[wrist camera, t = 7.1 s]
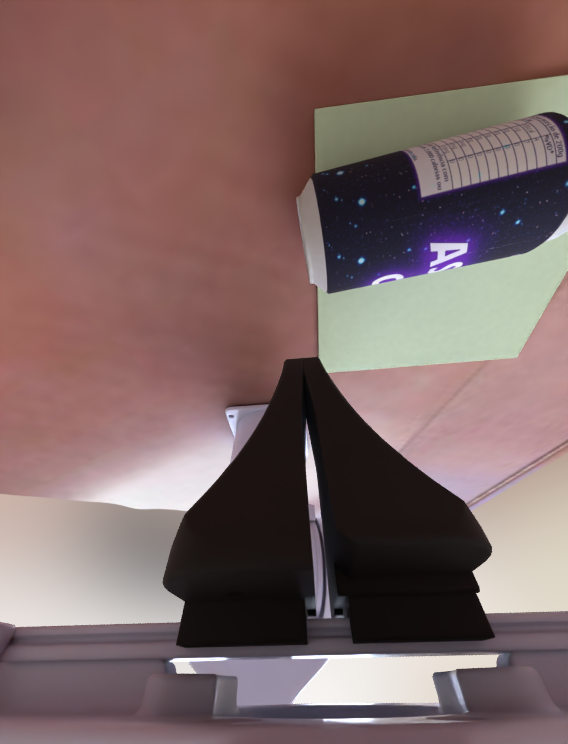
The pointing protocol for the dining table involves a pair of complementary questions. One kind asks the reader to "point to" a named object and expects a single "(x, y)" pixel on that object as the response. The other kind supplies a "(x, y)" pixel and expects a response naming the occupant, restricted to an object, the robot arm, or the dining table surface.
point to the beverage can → (437, 205)
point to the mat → (448, 287)
